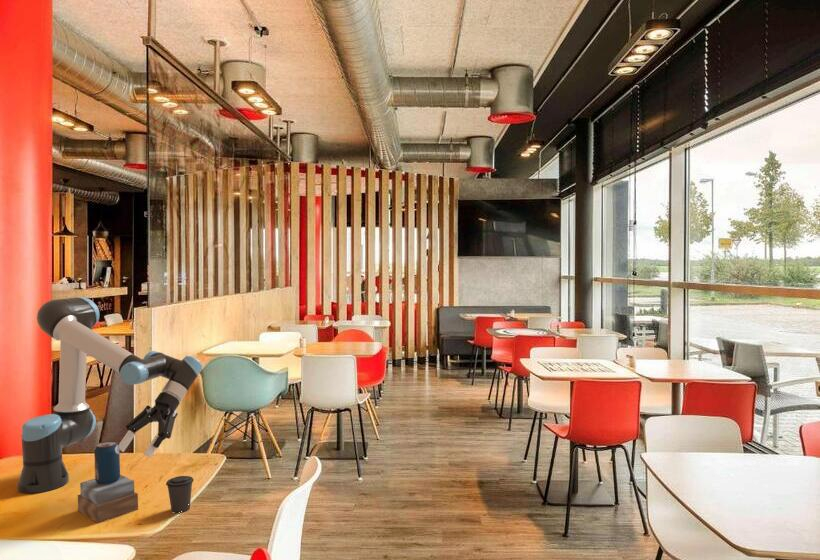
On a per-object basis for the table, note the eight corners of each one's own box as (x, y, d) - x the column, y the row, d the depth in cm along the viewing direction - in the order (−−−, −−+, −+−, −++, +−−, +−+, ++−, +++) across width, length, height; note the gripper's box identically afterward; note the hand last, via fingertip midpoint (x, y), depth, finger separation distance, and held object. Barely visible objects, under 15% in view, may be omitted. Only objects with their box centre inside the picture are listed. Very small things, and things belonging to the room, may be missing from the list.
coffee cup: (185, 516, 179) (184, 483, 178) (161, 514, 180) (160, 482, 180) (199, 505, 187) (198, 474, 186) (176, 503, 188) (175, 472, 188)
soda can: (125, 478, 186) (124, 440, 186) (110, 486, 180) (109, 447, 179) (105, 477, 188) (104, 439, 187) (90, 485, 181) (88, 446, 180)
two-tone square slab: (78, 511, 183) (77, 482, 183) (117, 498, 193) (116, 471, 193) (98, 523, 175) (97, 493, 174) (138, 509, 184) (137, 481, 184)
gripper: (202, 406, 200) (166, 464, 188) (153, 399, 212) (117, 452, 200) (189, 394, 195) (151, 452, 183) (140, 387, 208) (101, 441, 195)
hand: (133, 452), depth 191 cm, fingers open, 13 cm apart
